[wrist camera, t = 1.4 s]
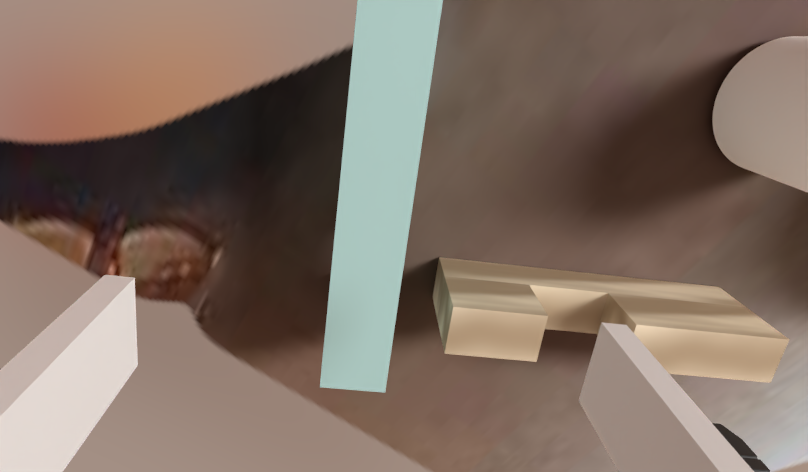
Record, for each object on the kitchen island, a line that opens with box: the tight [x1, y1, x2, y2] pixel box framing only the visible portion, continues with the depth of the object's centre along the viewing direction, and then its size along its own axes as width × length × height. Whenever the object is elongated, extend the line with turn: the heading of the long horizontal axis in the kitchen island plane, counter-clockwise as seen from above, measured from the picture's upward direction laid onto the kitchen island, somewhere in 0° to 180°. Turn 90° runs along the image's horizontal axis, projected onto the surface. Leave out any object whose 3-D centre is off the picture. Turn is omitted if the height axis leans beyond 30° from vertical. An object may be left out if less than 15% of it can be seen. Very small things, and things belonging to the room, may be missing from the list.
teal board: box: [320, 0, 443, 392], centre depth 30 cm, size 20×4×9 cm, turn 172°
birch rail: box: [432, 257, 789, 383], centre depth 35 cm, size 3×20×7 cm, turn 82°
